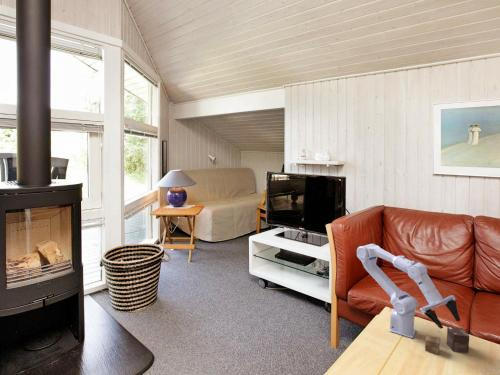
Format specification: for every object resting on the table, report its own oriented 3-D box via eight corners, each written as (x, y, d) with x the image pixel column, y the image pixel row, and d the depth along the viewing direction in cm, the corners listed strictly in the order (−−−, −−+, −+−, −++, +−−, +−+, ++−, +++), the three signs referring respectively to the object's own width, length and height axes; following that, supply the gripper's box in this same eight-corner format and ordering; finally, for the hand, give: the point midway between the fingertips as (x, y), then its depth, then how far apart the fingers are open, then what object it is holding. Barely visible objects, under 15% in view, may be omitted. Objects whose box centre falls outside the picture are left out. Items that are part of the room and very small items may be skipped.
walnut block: (425, 351, 128) (425, 339, 127) (426, 345, 131) (427, 334, 131) (437, 355, 125) (438, 343, 125) (439, 349, 129) (439, 338, 128)
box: (468, 353, 126) (470, 336, 125) (452, 351, 127) (453, 334, 127) (461, 344, 132) (462, 328, 131) (446, 342, 133) (447, 326, 133)
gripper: (417, 296, 127) (438, 331, 121) (449, 283, 128) (471, 316, 122) (411, 298, 134) (430, 331, 127) (442, 286, 134) (462, 318, 128)
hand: (450, 324), depth 125 cm, fingers open, 7 cm apart
